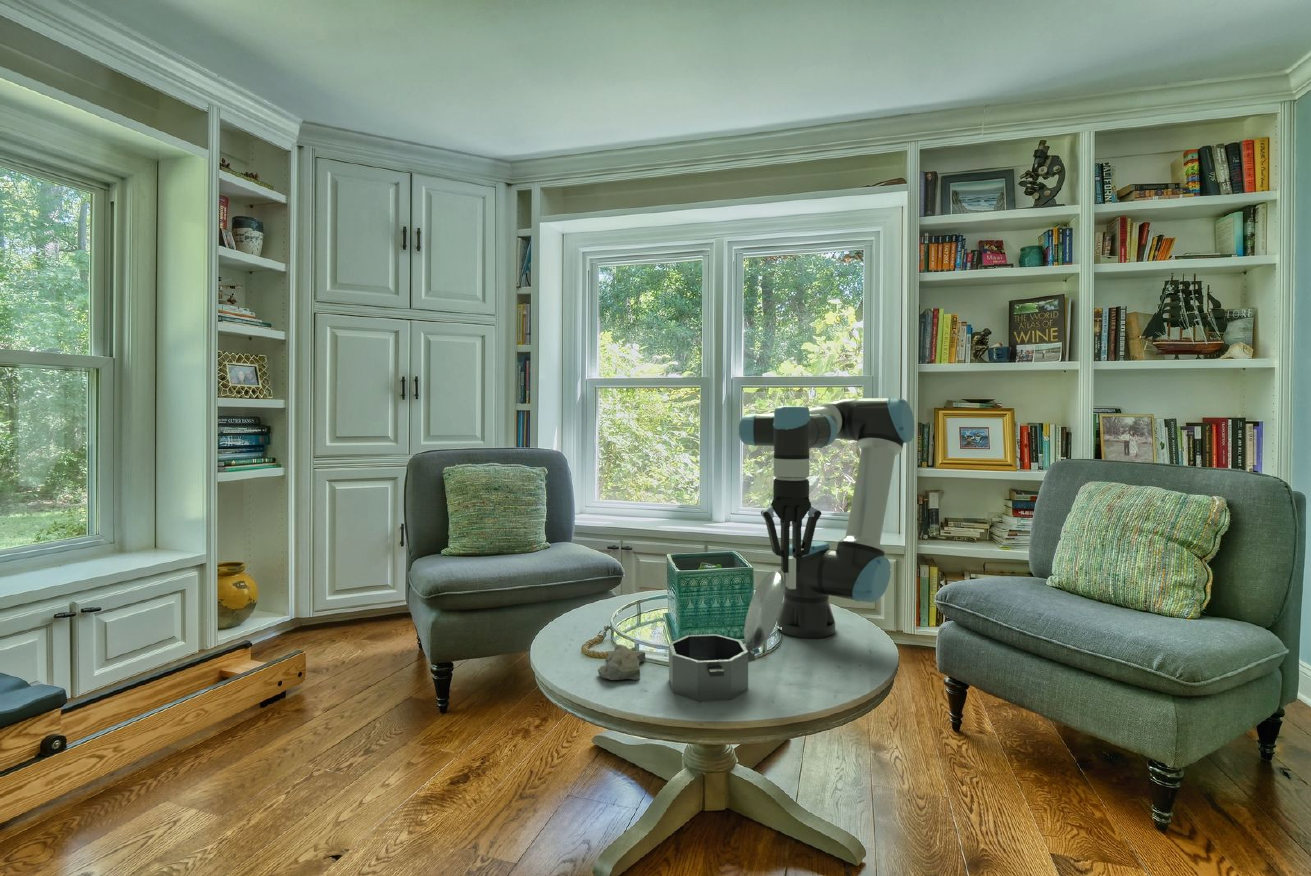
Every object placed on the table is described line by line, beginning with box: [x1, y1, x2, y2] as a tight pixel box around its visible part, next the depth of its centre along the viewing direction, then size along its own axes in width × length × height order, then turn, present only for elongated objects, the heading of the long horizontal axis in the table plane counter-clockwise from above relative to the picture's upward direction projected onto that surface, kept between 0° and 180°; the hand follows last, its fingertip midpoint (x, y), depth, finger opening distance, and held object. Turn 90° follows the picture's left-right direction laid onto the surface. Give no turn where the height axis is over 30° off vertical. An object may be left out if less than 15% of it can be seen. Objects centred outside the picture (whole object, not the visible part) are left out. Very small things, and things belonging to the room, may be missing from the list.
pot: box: [668, 633, 756, 702], centre depth 145 cm, size 18×21×8 cm
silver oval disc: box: [743, 570, 784, 651], centre depth 145 cm, size 17×17×2 cm
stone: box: [597, 644, 647, 681], centre depth 153 cm, size 15×10×4 cm, turn 174°
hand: (790, 587), depth 146 cm, fingers closed
